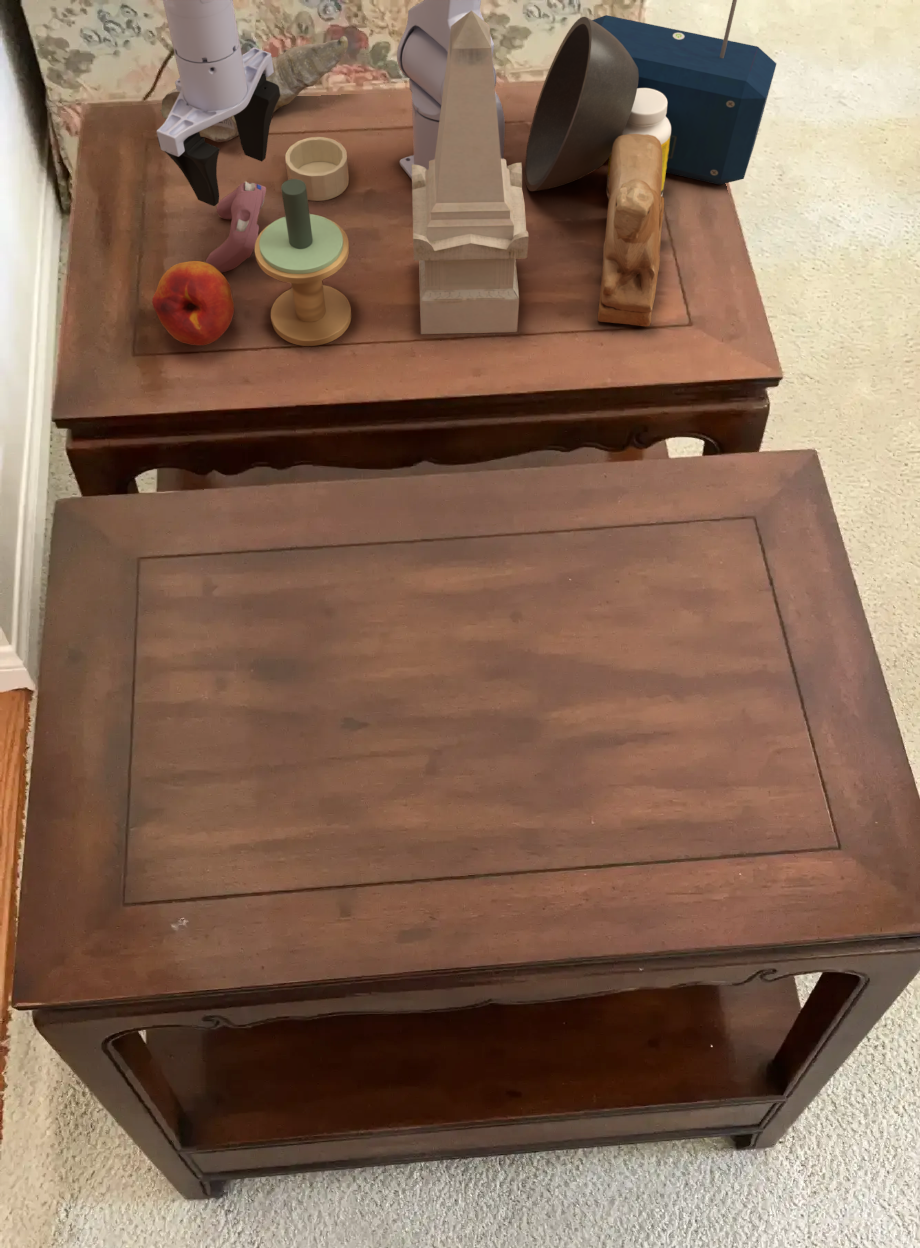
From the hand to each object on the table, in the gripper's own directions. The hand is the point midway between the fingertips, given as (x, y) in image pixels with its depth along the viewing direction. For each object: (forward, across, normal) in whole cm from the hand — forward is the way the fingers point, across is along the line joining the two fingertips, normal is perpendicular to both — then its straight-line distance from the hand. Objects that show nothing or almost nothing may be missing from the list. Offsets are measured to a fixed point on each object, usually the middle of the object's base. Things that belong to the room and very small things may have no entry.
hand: (232, 178), depth 111 cm
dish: (+10, -15, -1) cm, 18 cm away
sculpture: (+10, -19, +35) cm, 41 cm away
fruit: (+10, +11, +2) cm, 15 cm away
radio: (+10, -38, +29) cm, 49 cm away
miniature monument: (+10, -7, +22) cm, 26 cm away
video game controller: (+10, -2, -2) cm, 11 cm away
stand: (+10, +3, +10) cm, 15 cm away
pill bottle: (+10, -30, +30) cm, 44 cm away
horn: (+8, -20, -9) cm, 23 cm away
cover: (+1, +3, +10) cm, 11 cm away
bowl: (+1, -29, +27) cm, 40 cm away
